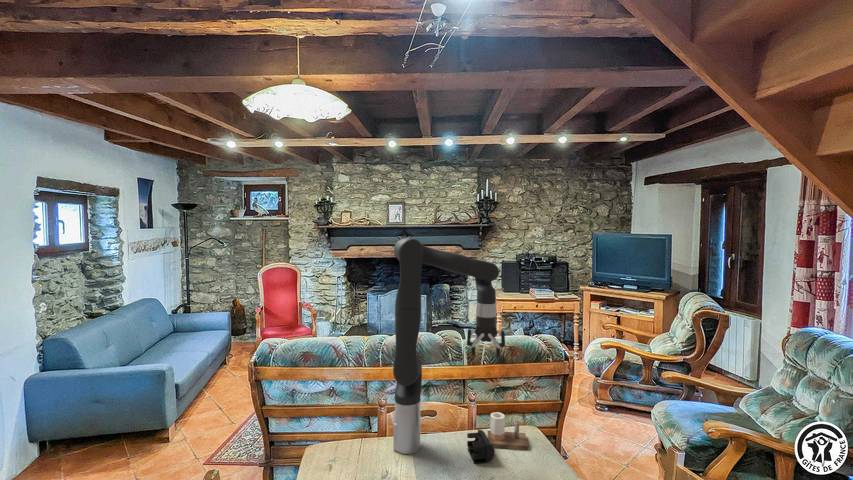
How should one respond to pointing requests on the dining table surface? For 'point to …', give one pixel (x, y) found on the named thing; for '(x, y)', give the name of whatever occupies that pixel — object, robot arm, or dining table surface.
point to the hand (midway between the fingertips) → (485, 356)
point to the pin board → (511, 440)
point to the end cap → (480, 448)
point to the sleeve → (497, 426)
